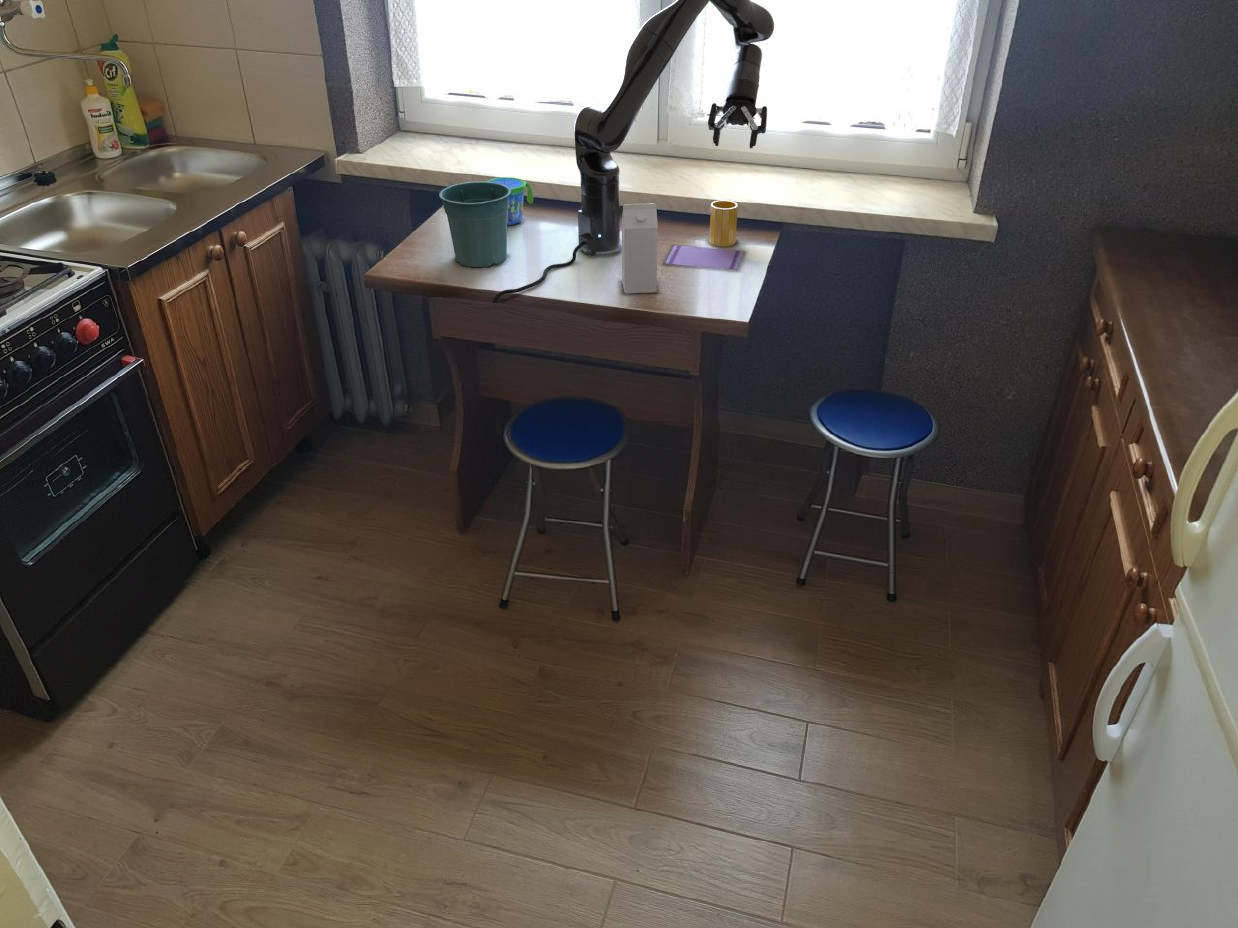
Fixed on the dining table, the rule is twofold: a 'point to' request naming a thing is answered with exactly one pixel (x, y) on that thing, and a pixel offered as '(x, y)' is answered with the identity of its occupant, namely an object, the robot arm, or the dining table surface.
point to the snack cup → (515, 197)
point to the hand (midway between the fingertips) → (733, 145)
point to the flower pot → (477, 221)
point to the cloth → (704, 257)
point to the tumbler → (723, 223)
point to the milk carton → (639, 248)
